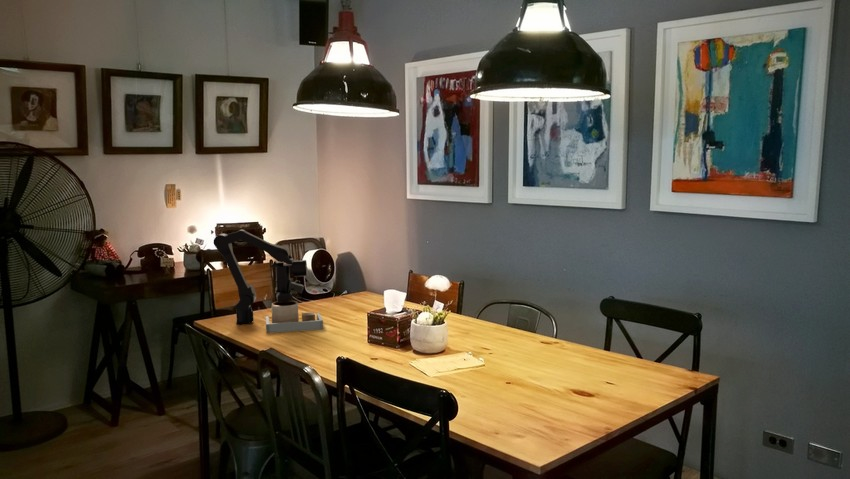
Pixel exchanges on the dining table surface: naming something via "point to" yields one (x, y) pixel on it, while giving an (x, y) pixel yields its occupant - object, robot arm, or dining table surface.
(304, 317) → the walnut block
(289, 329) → the tray bay
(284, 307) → the planter
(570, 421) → the dining table surface
